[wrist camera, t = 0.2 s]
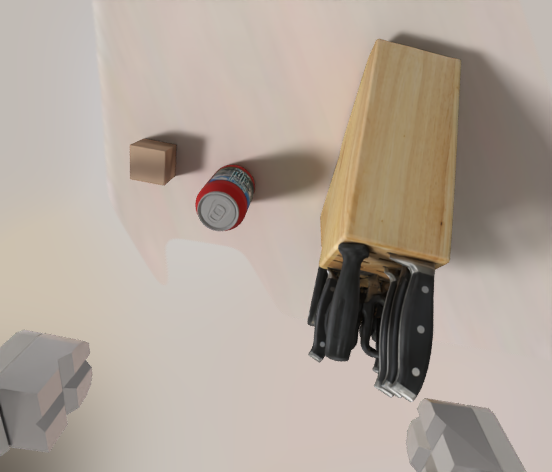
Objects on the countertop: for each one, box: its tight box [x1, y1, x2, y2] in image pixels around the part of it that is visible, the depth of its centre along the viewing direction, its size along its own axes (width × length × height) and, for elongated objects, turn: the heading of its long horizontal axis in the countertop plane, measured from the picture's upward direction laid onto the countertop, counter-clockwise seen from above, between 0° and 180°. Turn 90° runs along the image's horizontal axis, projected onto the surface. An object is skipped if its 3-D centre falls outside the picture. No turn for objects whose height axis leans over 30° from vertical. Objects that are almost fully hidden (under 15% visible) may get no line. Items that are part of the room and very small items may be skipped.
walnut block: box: [130, 139, 177, 185], centre depth 53 cm, size 5×5×5 cm
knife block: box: [308, 39, 461, 402], centre depth 40 cm, size 11×35×31 cm, turn 167°
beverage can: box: [196, 165, 255, 231], centre depth 51 cm, size 7×7×12 cm
